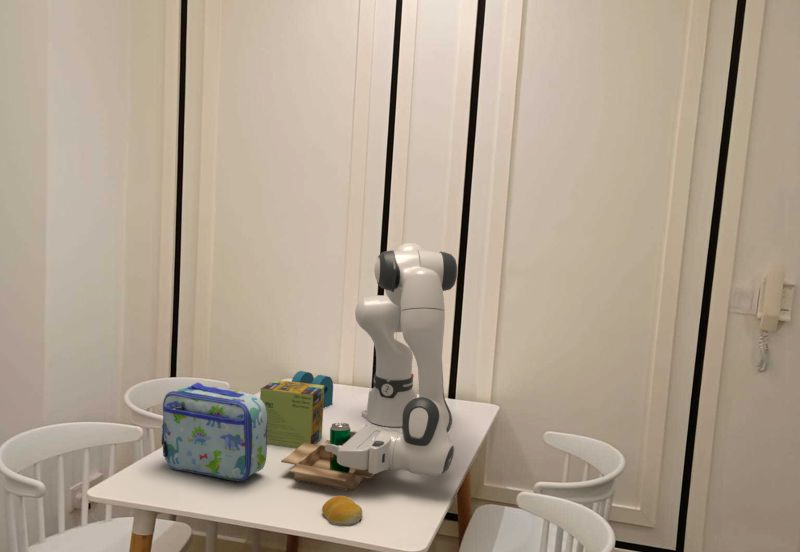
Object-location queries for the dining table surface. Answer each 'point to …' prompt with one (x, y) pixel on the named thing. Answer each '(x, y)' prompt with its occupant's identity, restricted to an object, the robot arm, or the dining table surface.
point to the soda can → (339, 437)
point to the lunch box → (214, 432)
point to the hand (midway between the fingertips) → (333, 440)
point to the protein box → (293, 412)
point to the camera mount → (318, 380)
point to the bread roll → (342, 511)
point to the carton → (322, 468)
